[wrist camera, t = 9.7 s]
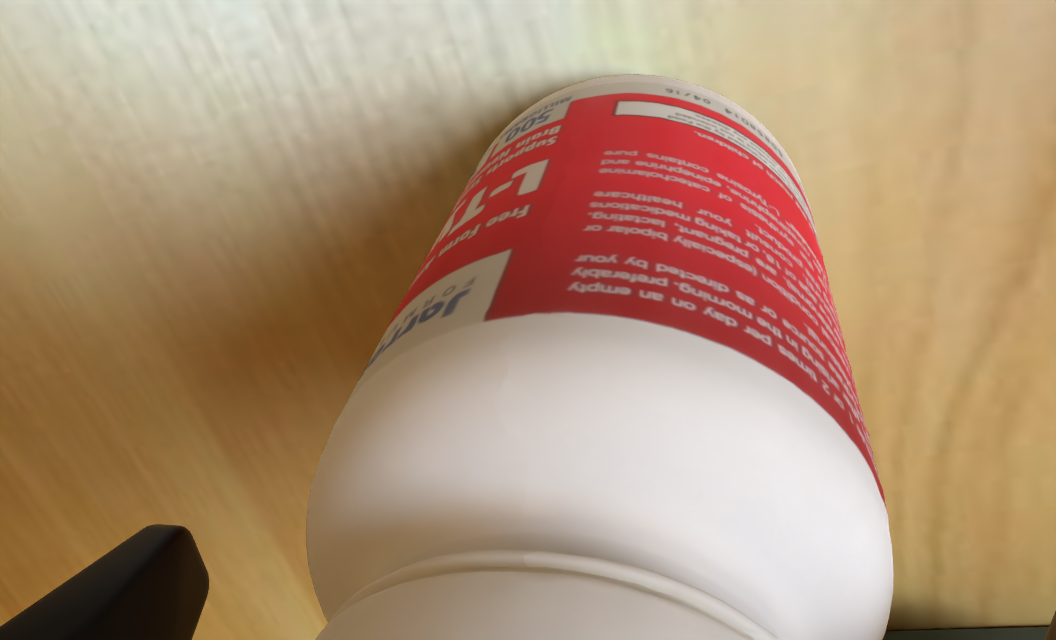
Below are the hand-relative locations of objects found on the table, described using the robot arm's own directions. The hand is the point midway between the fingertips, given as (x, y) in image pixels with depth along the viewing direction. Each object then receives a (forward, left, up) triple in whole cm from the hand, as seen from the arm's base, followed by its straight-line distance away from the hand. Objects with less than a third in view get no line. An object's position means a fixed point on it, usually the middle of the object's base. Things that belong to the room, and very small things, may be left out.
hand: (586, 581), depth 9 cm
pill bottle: (0, 0, -8) cm, 8 cm away
